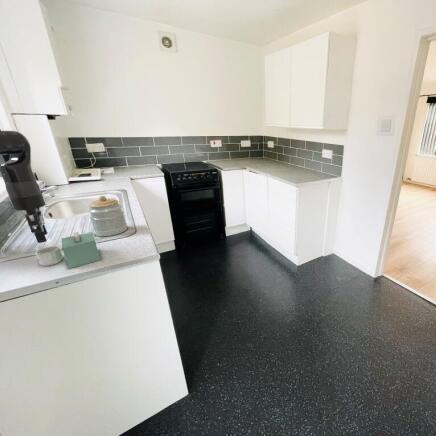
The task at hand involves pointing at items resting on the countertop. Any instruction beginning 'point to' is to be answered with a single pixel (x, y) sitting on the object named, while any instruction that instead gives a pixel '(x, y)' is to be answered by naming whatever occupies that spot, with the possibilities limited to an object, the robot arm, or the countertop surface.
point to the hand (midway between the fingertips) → (43, 238)
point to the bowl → (49, 255)
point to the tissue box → (80, 249)
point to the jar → (107, 217)
